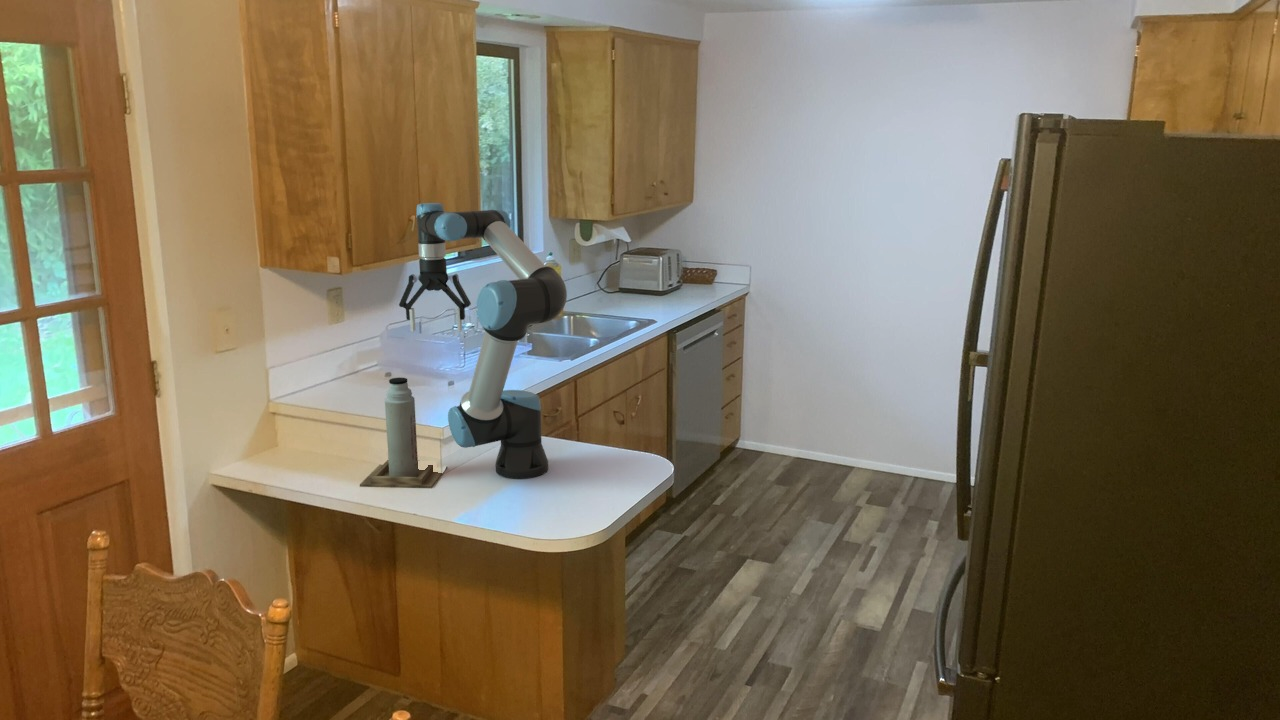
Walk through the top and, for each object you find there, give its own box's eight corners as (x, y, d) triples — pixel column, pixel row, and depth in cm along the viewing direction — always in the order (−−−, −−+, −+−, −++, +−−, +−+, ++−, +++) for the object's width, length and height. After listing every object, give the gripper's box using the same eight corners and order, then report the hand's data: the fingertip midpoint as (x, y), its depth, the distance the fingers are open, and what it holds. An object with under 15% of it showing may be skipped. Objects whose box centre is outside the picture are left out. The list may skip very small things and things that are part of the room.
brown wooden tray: (447, 468, 267) (446, 460, 267) (431, 488, 252) (430, 480, 251) (379, 466, 269) (379, 458, 268) (359, 486, 253) (359, 478, 253)
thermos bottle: (423, 471, 263) (418, 376, 257) (410, 480, 256) (405, 383, 249) (397, 469, 265) (391, 374, 258) (384, 478, 257) (378, 381, 251)
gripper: (478, 256, 266) (481, 328, 271) (392, 256, 267) (396, 328, 271) (473, 259, 259) (477, 333, 264) (385, 259, 259) (390, 333, 264)
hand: (436, 330), depth 268 cm, fingers open, 13 cm apart
